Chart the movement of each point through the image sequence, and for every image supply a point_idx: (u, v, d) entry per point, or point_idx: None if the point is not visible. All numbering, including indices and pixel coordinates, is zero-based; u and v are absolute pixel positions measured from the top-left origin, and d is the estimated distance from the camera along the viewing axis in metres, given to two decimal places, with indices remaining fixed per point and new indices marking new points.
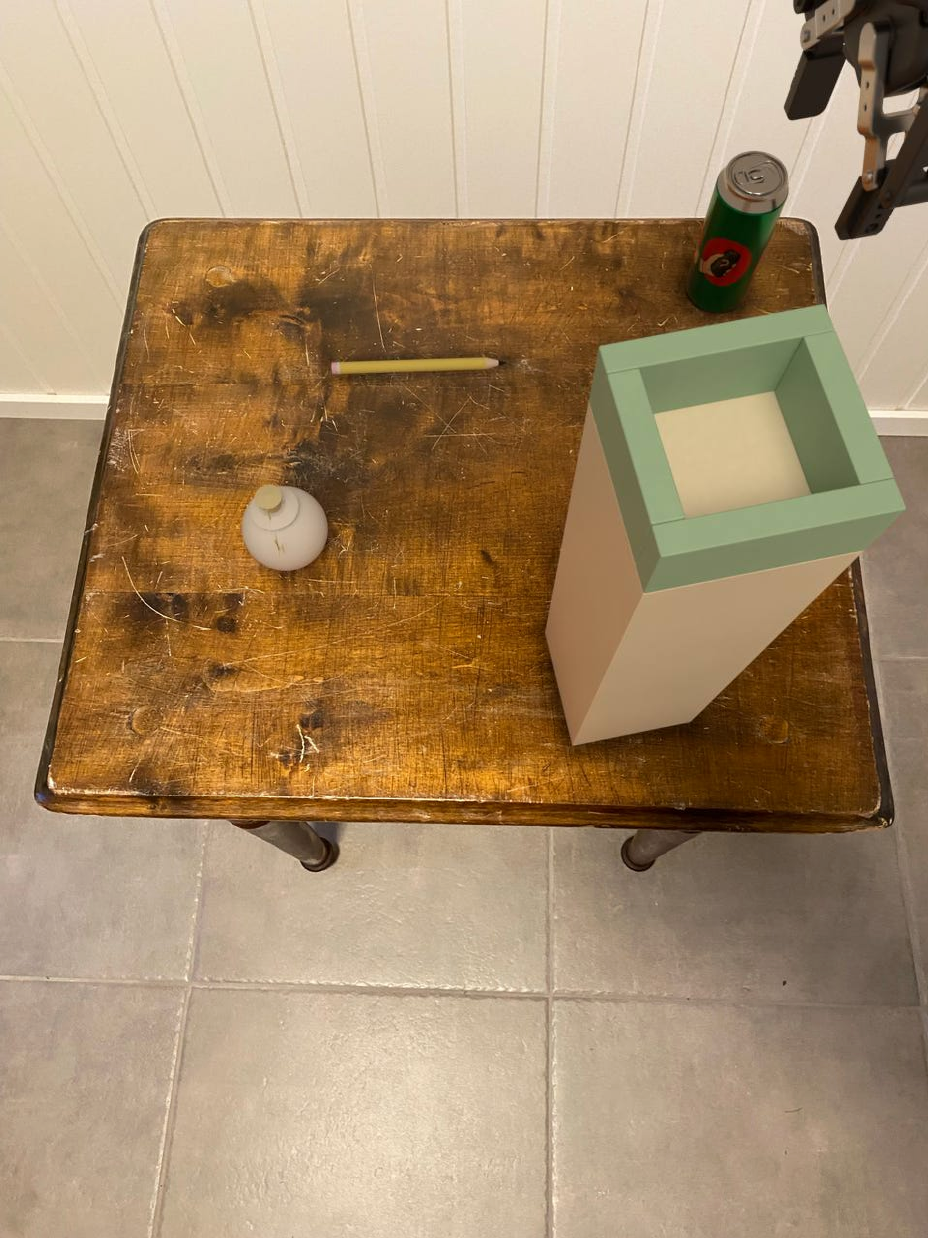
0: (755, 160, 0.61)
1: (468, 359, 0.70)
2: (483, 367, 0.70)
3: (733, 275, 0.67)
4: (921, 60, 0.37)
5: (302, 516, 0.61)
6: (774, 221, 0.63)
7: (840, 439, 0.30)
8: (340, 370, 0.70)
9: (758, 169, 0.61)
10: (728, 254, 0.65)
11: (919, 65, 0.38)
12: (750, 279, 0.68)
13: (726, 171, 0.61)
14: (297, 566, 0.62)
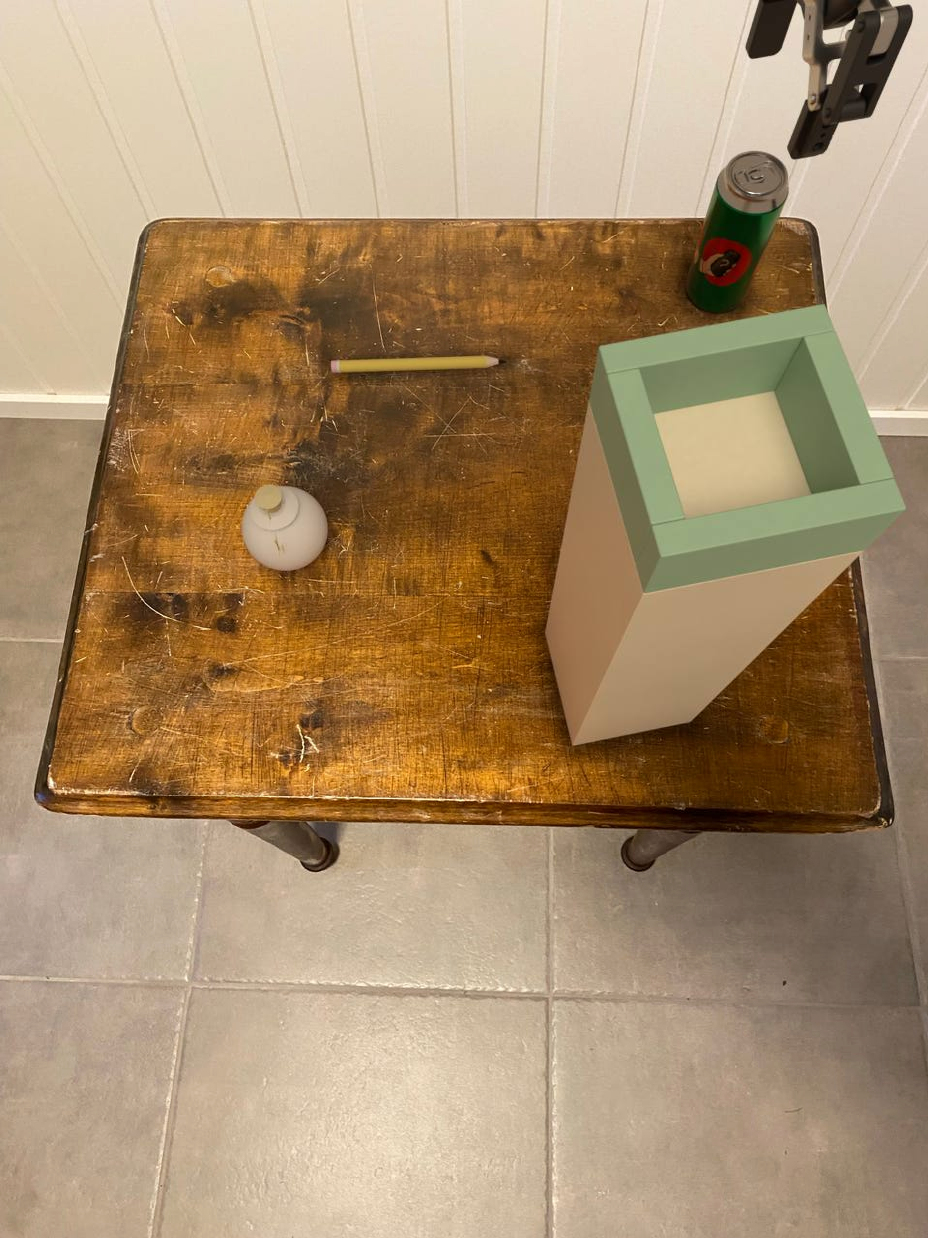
0: (755, 160, 0.61)
1: (468, 357, 0.70)
2: (483, 365, 0.70)
3: (733, 275, 0.67)
4: None
5: (302, 516, 0.61)
6: (774, 221, 0.63)
7: (840, 439, 0.30)
8: (340, 368, 0.70)
9: (758, 169, 0.61)
10: (728, 254, 0.65)
11: None
12: (750, 279, 0.68)
13: (726, 171, 0.61)
14: (297, 566, 0.62)
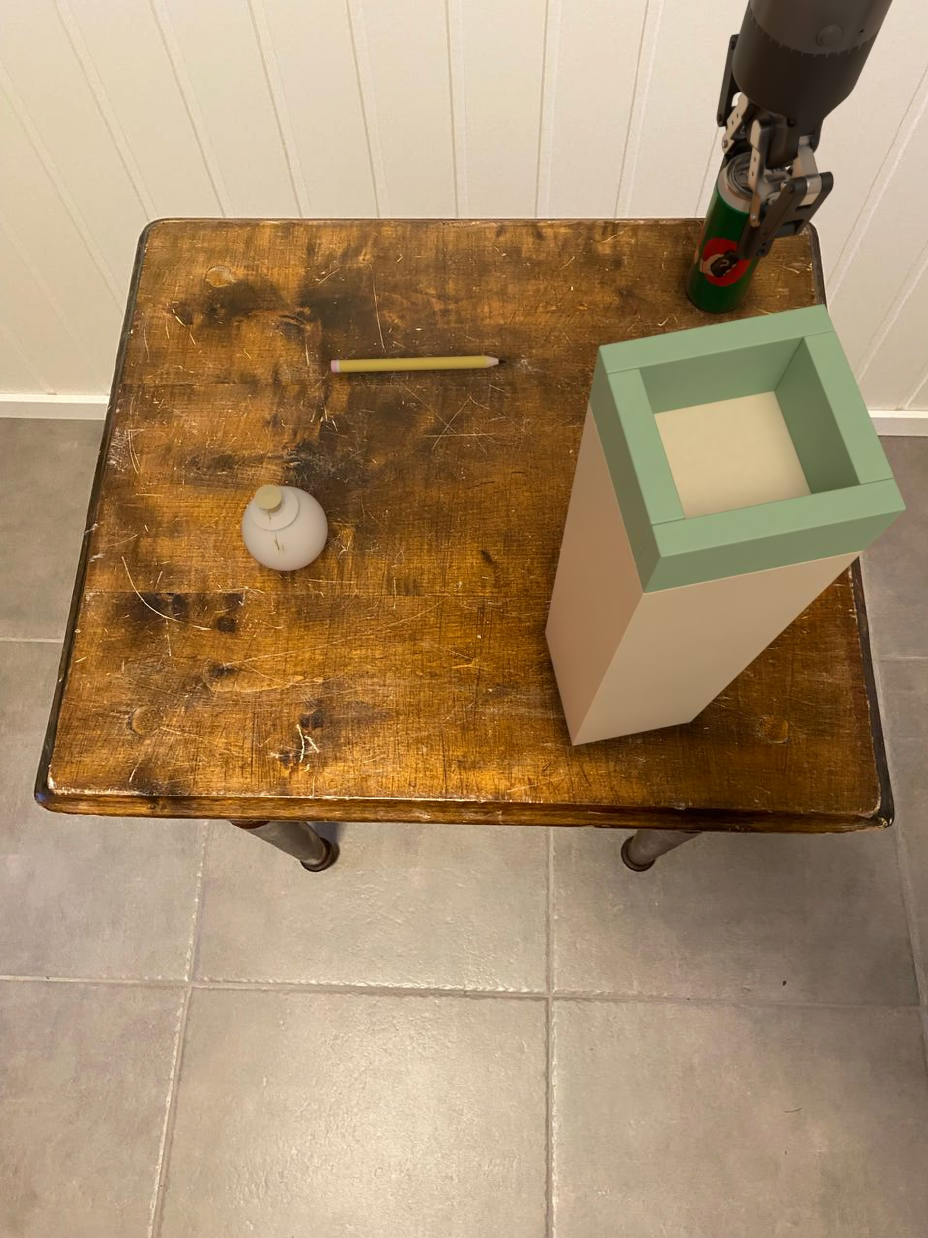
0: None
1: (468, 357, 0.70)
2: (483, 366, 0.70)
3: (733, 275, 0.67)
4: (790, 148, 0.54)
5: (302, 516, 0.61)
6: None
7: (840, 439, 0.30)
8: (340, 368, 0.70)
9: None
10: (728, 254, 0.65)
11: (789, 151, 0.54)
12: (750, 279, 0.68)
13: (726, 171, 0.61)
14: (297, 566, 0.62)
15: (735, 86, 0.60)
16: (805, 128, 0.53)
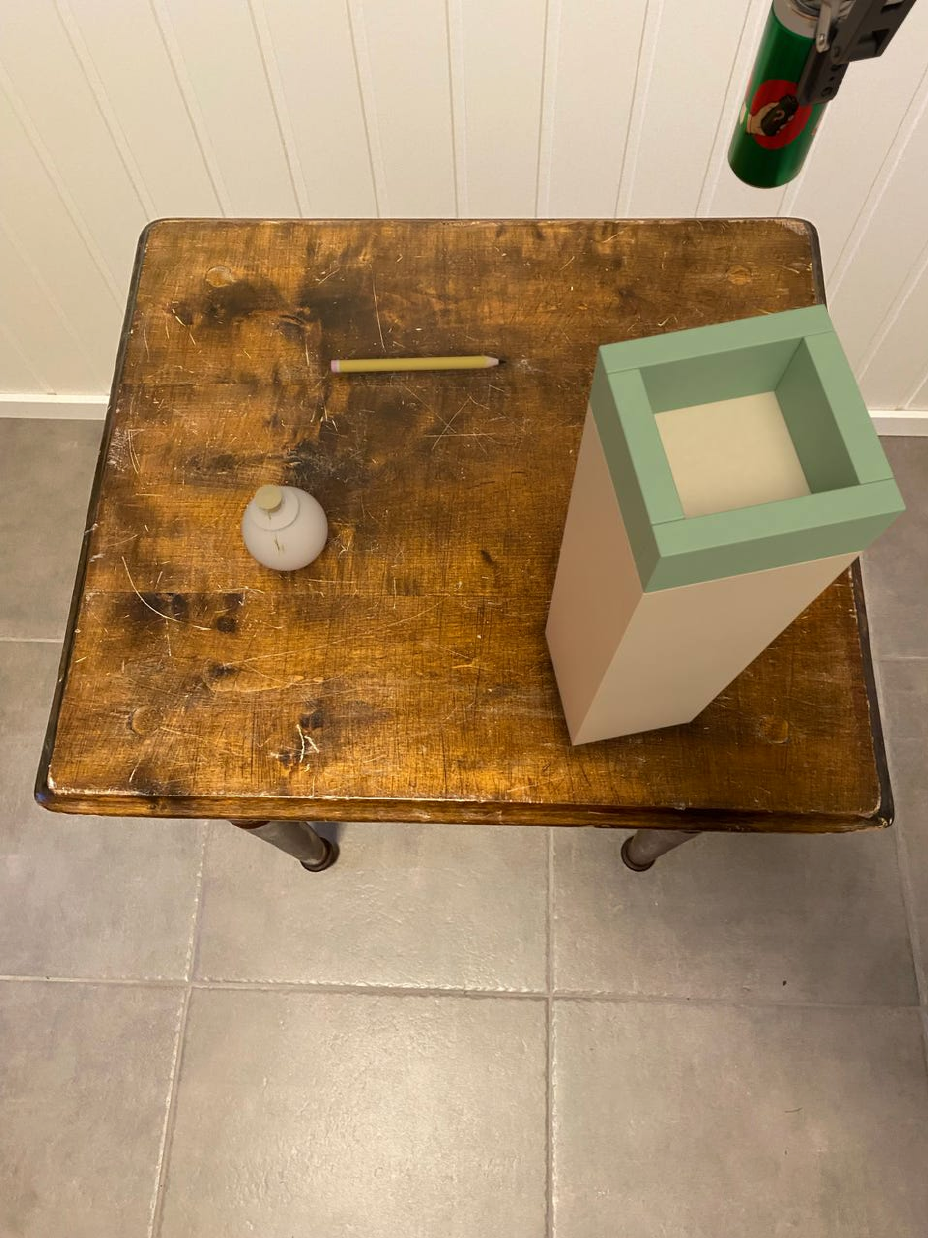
0: None
1: (468, 358, 0.70)
2: (483, 366, 0.70)
3: (788, 133, 0.55)
4: None
5: (302, 516, 0.61)
6: None
7: (840, 439, 0.30)
8: (340, 368, 0.70)
9: None
10: (784, 102, 0.53)
11: None
12: (808, 141, 0.56)
13: None
14: (297, 566, 0.62)
15: None
16: None
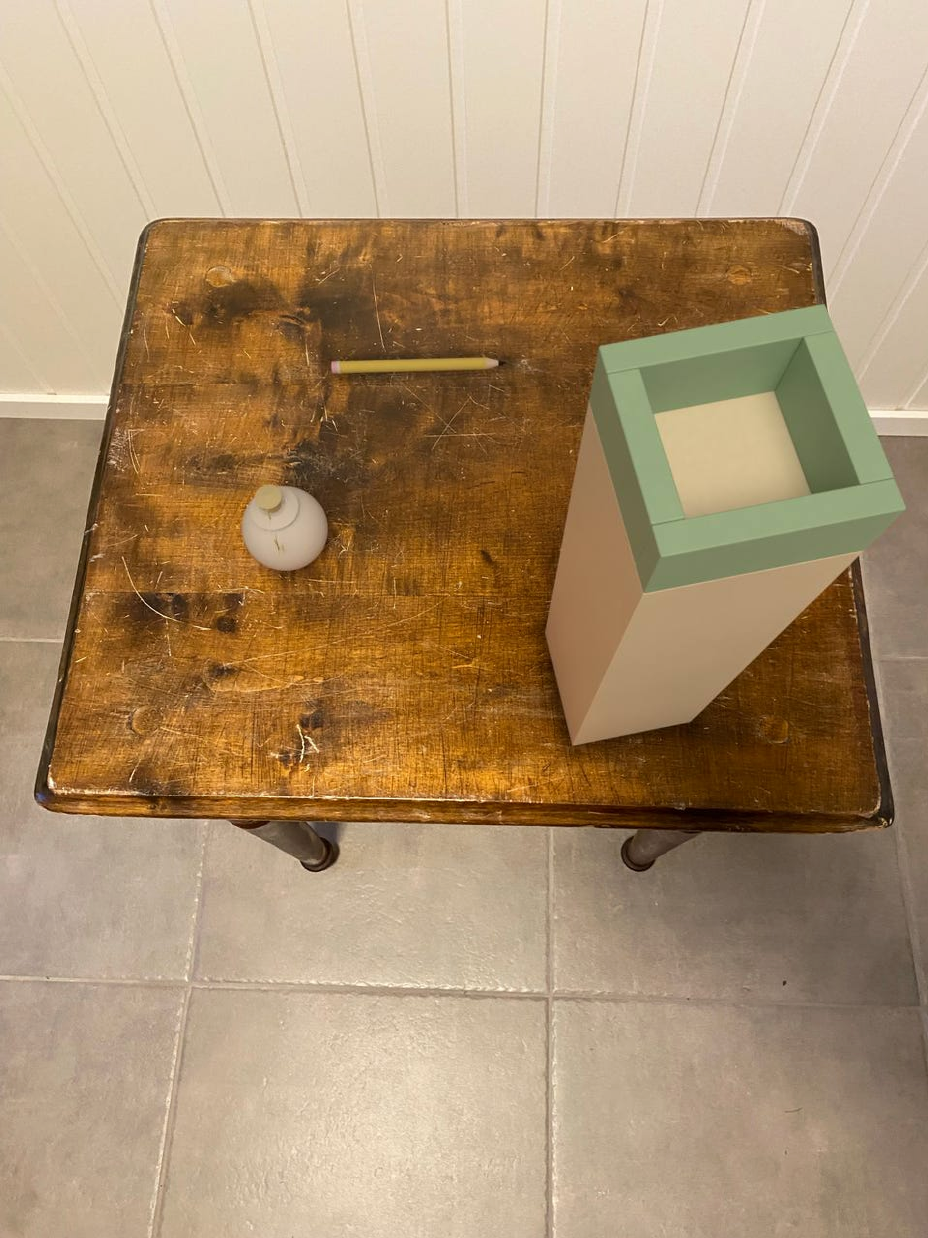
0: None
1: (468, 359, 0.70)
2: (483, 367, 0.70)
3: None
4: None
5: (302, 516, 0.61)
6: None
7: (840, 439, 0.30)
8: (340, 369, 0.70)
9: None
10: None
11: None
12: None
13: None
14: (297, 566, 0.62)
15: None
16: None
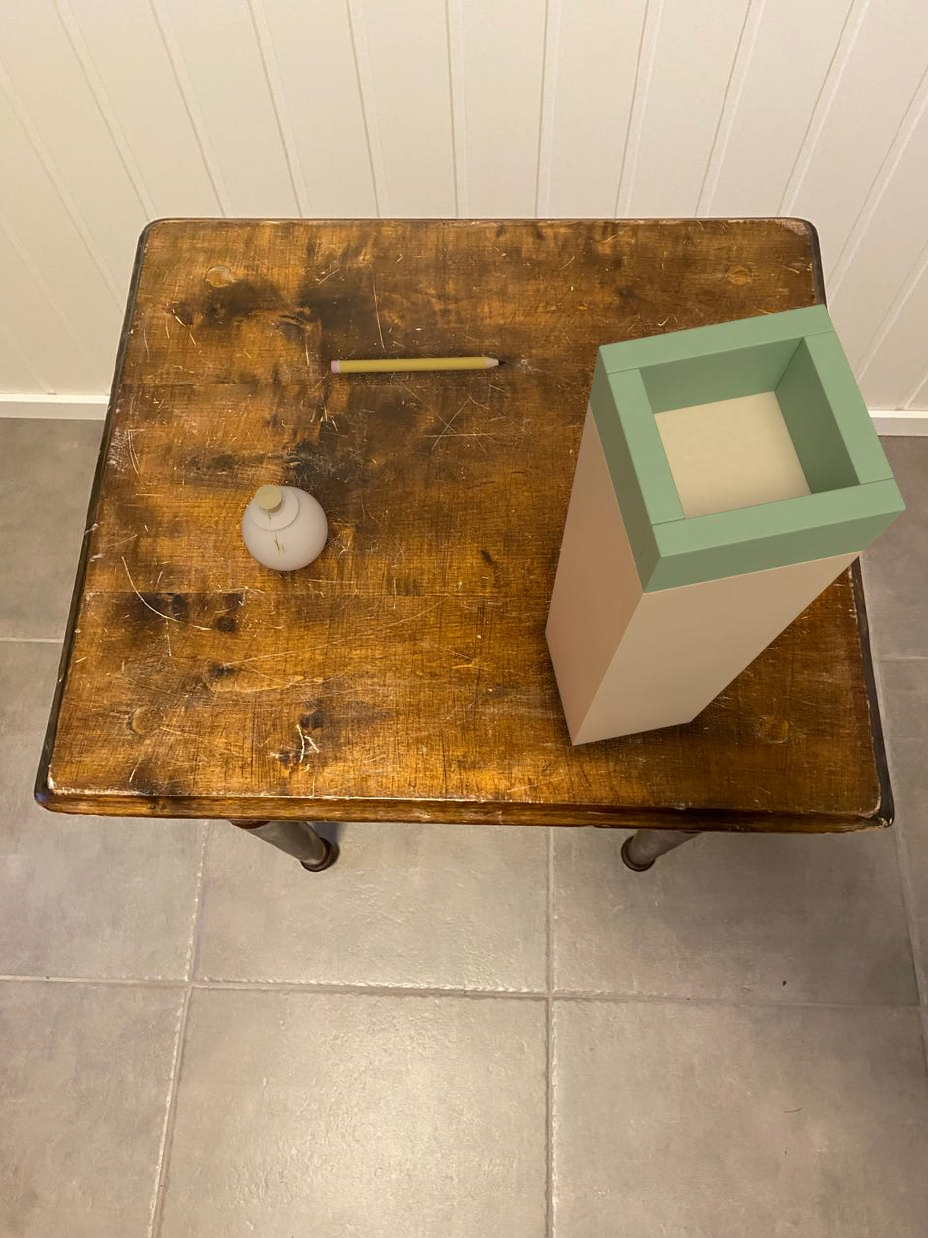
0: None
1: (468, 358, 0.70)
2: (483, 367, 0.70)
3: None
4: None
5: (302, 516, 0.61)
6: None
7: (840, 439, 0.30)
8: (340, 369, 0.70)
9: None
10: None
11: None
12: None
13: None
14: (297, 566, 0.62)
15: None
16: None
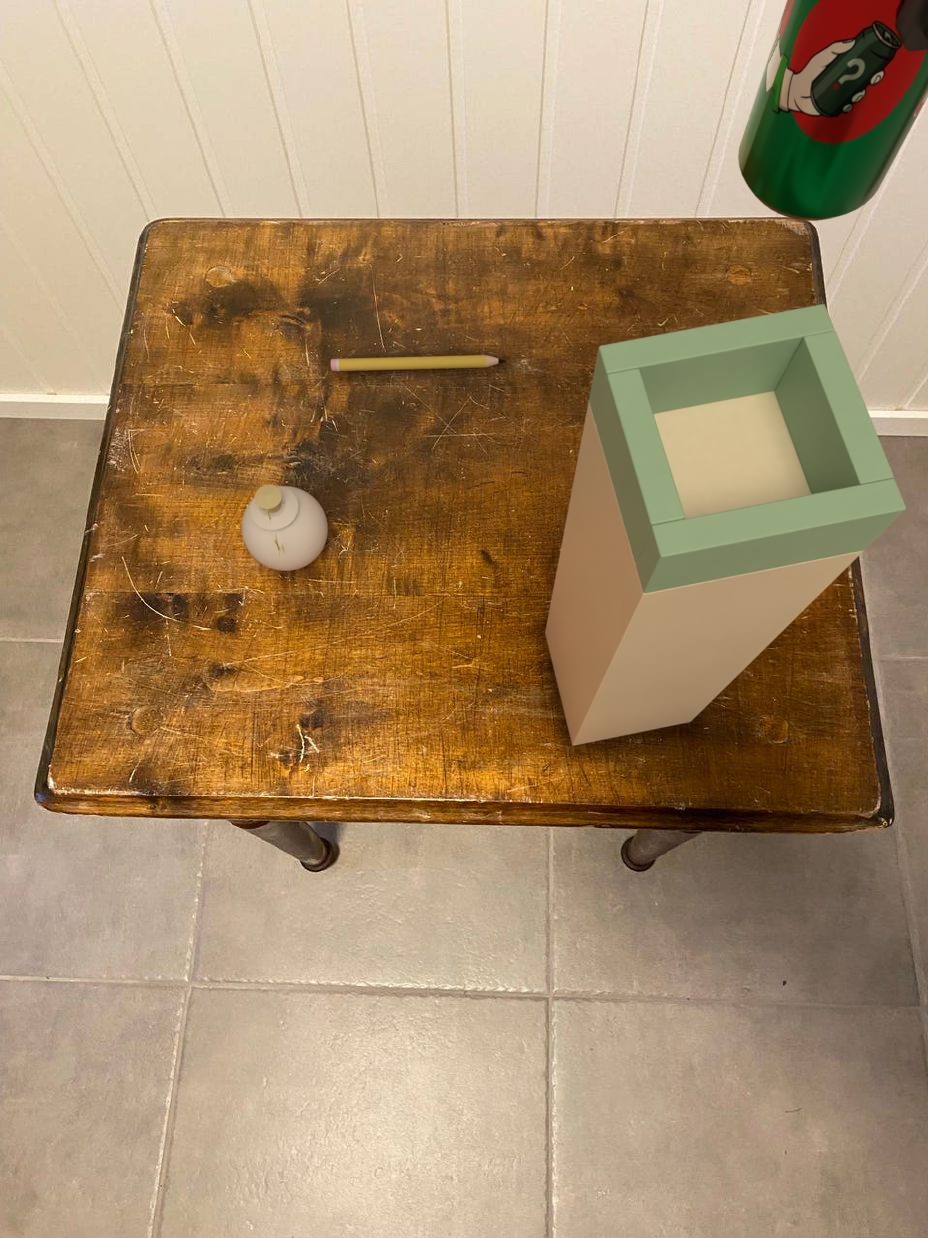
0: None
1: (468, 357, 0.70)
2: (483, 365, 0.70)
3: (869, 111, 0.26)
4: None
5: (302, 516, 0.61)
6: None
7: (840, 439, 0.30)
8: (339, 367, 0.70)
9: None
10: (866, 41, 0.24)
11: None
12: (905, 129, 0.28)
13: None
14: (297, 566, 0.62)
15: None
16: None
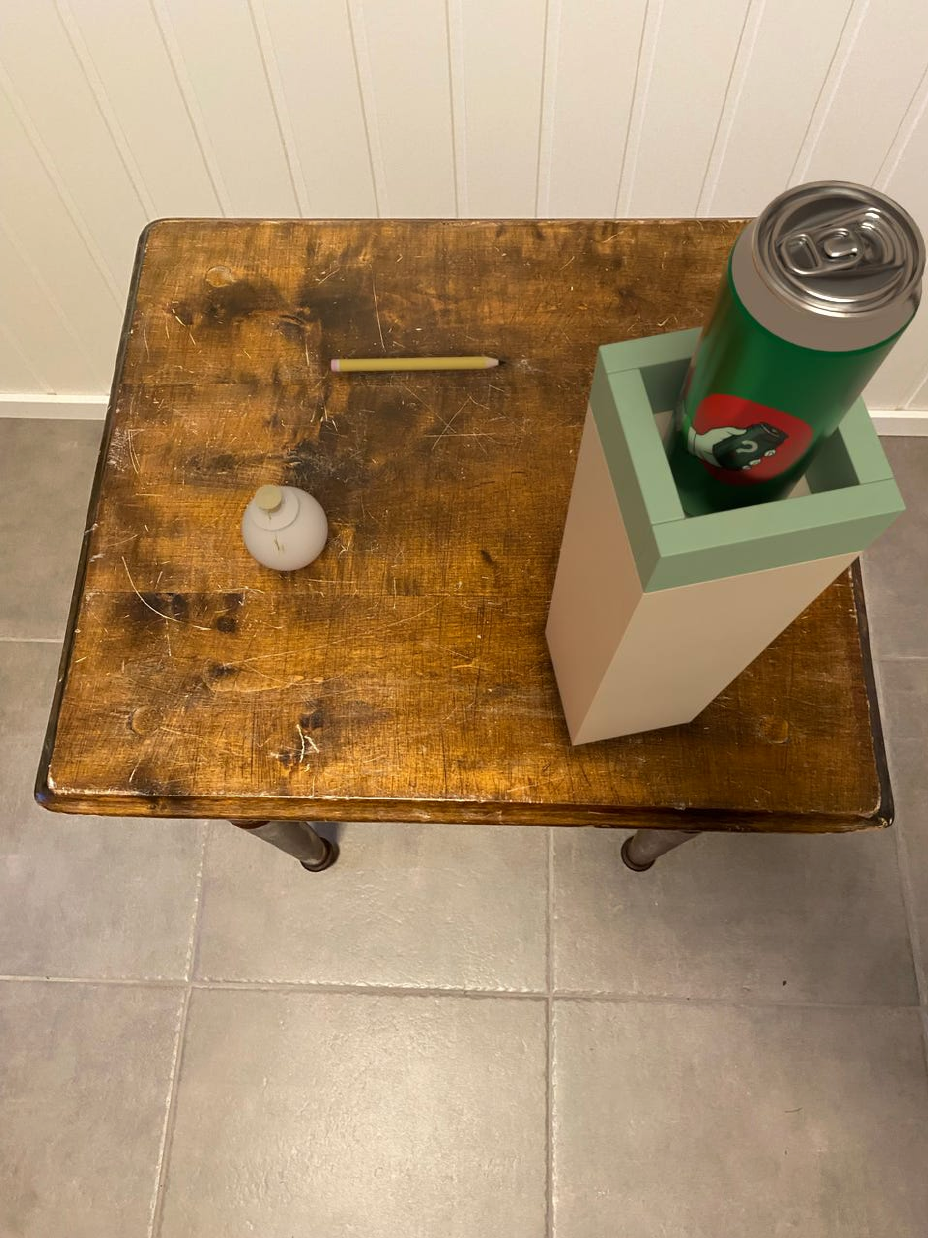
0: (835, 207, 0.23)
1: (468, 358, 0.70)
2: (483, 366, 0.70)
3: (766, 470, 0.28)
4: None
5: (302, 516, 0.61)
6: (880, 363, 0.24)
7: (840, 439, 0.30)
8: (340, 367, 0.70)
9: (843, 231, 0.22)
10: (756, 432, 0.26)
11: None
12: (804, 470, 0.30)
13: (756, 237, 0.22)
14: (297, 566, 0.62)
15: None
16: None
